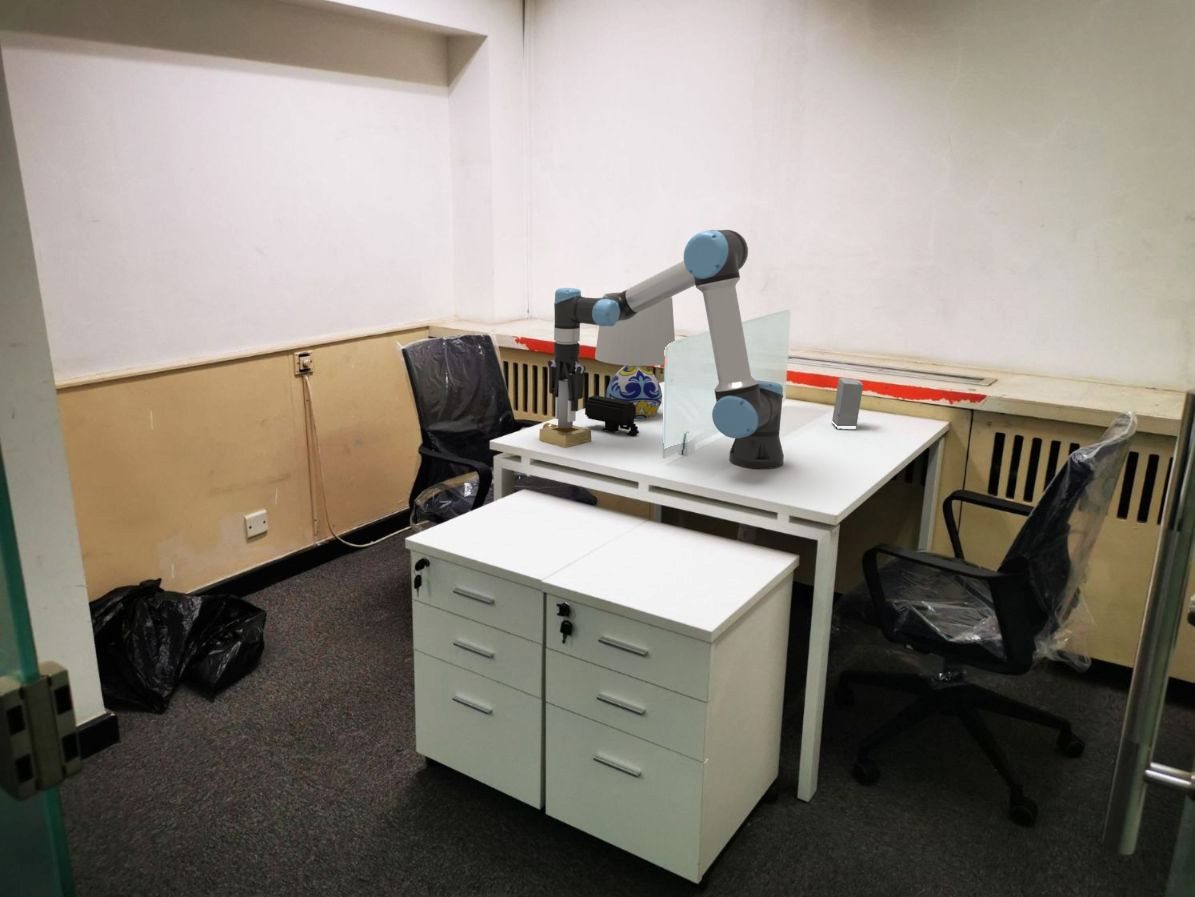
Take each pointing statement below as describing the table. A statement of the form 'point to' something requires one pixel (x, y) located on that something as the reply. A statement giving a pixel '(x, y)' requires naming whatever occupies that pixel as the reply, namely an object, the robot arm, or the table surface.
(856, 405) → the skincare box
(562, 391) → the grey rounded cylinder
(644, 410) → the table lamp
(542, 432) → the gold square frame
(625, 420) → the security camera
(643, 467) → the table surface
